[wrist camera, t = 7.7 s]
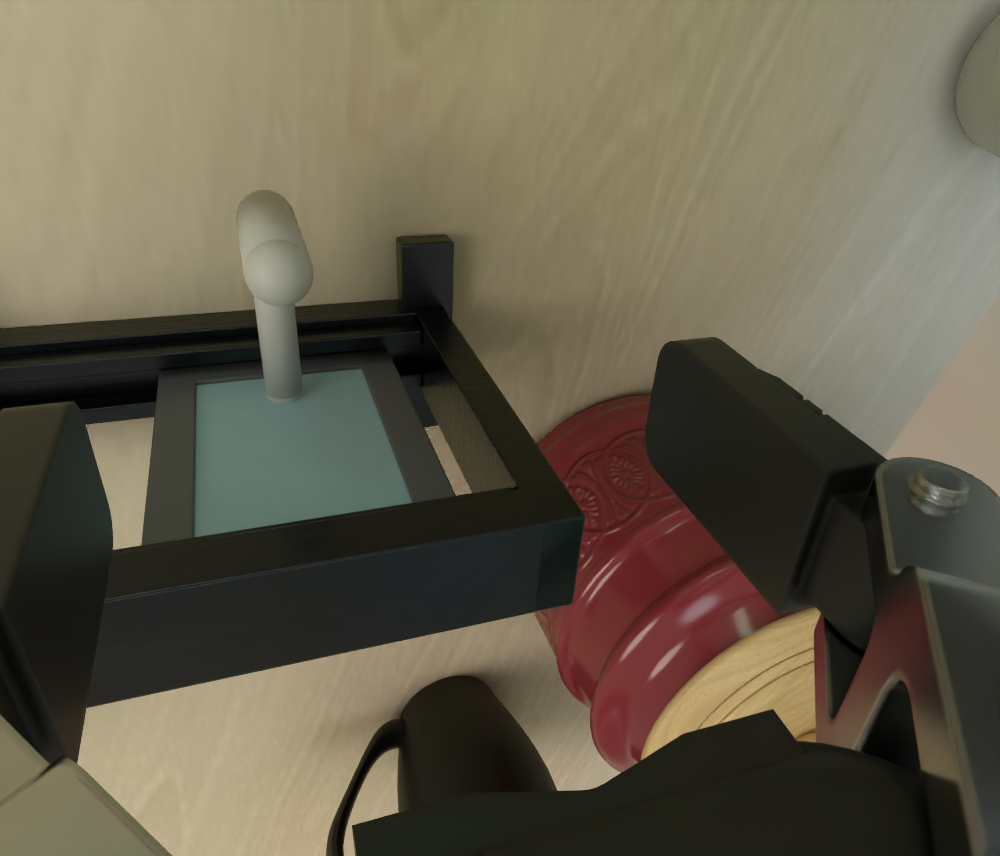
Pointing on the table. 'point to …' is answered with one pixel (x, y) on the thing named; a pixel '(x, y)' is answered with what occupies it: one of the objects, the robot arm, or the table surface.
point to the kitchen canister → (662, 605)
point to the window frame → (325, 540)
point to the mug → (449, 751)
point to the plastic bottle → (982, 90)
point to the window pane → (282, 415)
